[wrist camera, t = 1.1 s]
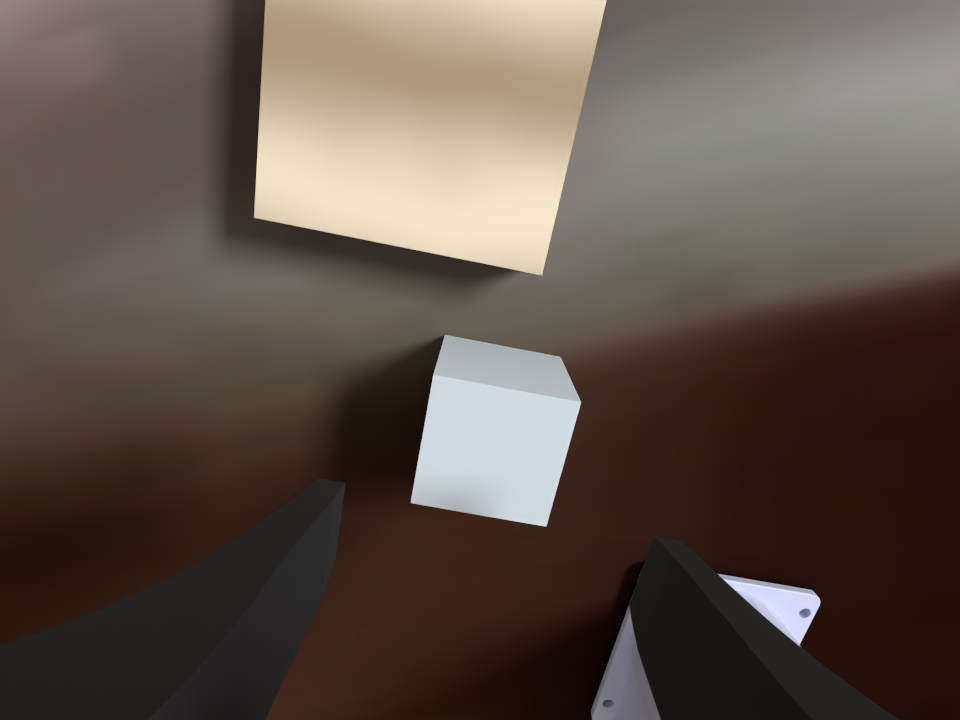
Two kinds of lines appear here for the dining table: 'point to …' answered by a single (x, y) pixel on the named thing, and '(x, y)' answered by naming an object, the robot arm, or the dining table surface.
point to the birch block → (423, 120)
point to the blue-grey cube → (495, 431)
